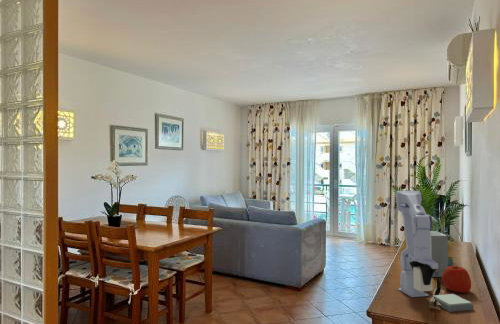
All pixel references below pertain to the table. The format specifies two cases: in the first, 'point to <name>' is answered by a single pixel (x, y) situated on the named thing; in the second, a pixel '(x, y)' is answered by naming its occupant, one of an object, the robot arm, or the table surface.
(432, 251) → the hard drive box
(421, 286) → the carton
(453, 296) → the tray
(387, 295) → the table surface
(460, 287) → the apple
